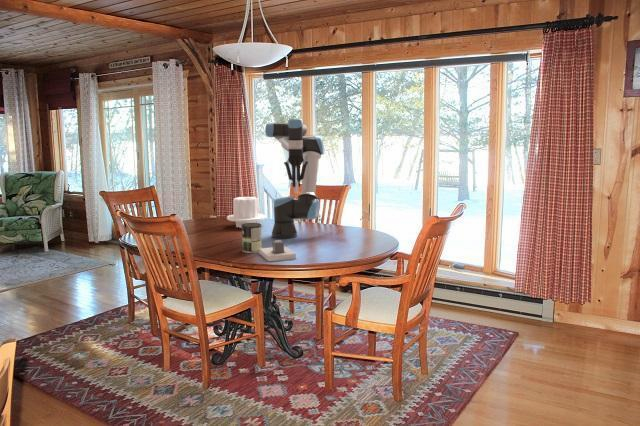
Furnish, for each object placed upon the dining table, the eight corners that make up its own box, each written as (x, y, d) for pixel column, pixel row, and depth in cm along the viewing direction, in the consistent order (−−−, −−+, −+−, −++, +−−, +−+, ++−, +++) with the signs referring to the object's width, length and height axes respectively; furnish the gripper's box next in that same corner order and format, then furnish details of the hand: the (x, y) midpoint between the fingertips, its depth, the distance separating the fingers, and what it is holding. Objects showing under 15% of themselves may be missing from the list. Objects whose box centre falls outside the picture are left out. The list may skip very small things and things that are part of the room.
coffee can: (241, 253, 269) (240, 226, 267) (242, 248, 279) (242, 222, 277) (261, 252, 270) (261, 226, 267) (262, 248, 280) (261, 222, 278)
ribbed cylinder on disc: (219, 228, 339) (218, 199, 336) (244, 222, 360) (243, 194, 357) (249, 231, 326) (248, 201, 323) (273, 225, 347) (272, 197, 344)
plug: (272, 256, 262) (272, 240, 260) (281, 255, 263) (281, 239, 262) (275, 258, 258) (275, 242, 256) (284, 257, 259) (283, 241, 258)
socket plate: (259, 253, 269) (259, 247, 268) (285, 250, 274) (285, 244, 273) (268, 261, 252) (268, 254, 251) (296, 258, 257) (295, 252, 256)
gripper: (286, 149, 269) (286, 194, 273) (309, 148, 273) (310, 193, 277) (281, 148, 276) (282, 192, 280) (305, 148, 280) (305, 191, 284)
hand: (296, 192), depth 278 cm, fingers closed
